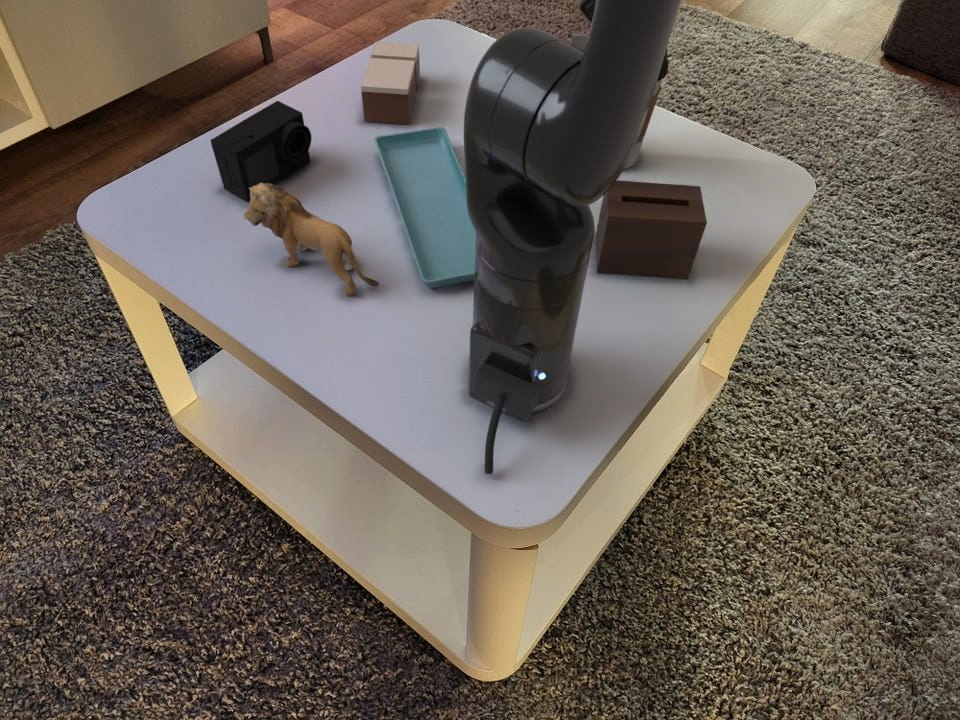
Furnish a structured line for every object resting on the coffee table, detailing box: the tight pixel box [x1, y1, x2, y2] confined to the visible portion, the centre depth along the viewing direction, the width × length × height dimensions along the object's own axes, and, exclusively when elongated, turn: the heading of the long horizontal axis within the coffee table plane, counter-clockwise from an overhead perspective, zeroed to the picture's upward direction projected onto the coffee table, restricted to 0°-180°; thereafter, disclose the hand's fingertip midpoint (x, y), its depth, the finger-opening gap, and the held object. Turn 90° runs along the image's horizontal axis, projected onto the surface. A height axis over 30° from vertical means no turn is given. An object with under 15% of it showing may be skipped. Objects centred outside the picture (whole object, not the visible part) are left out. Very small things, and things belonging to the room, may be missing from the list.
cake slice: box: [370, 41, 421, 94], centre depth 104 cm, size 4×6×5 cm, turn 86°
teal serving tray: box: [373, 126, 476, 289], centre depth 88 cm, size 26×9×2 cm, turn 16°
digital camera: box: [210, 100, 312, 203], centre depth 89 cm, size 10×5×7 cm, turn 144°
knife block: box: [594, 179, 708, 280], centre depth 82 cm, size 6×10×8 cm, turn 86°
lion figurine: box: [243, 183, 380, 296], centre depth 79 cm, size 15×5×9 cm, turn 66°
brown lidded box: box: [360, 57, 417, 126], centre depth 100 cm, size 7×6×5 cm
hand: (585, 6), depth 71 cm, fingers closed
